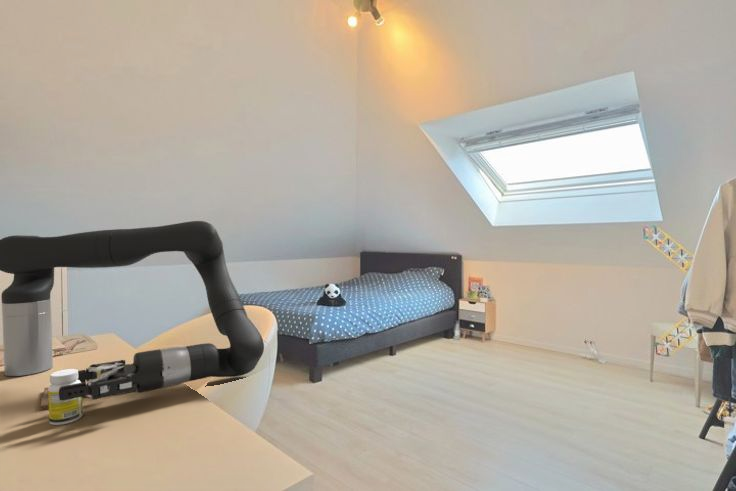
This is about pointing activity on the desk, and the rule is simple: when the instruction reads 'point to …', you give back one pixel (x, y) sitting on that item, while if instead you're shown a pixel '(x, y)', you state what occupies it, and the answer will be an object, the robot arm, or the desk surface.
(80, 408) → the supplement bottle
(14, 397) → the desk surface
